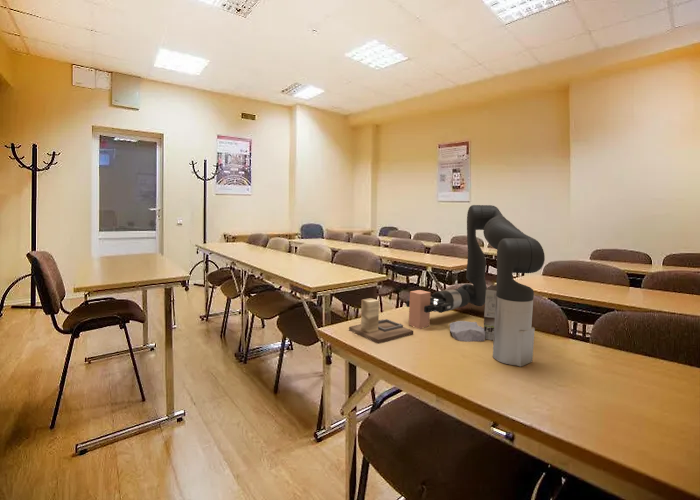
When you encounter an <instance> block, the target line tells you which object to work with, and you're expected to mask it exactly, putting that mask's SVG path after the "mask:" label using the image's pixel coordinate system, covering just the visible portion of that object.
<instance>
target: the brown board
mask: <svg viewBox="0 0 700 500" xmlns="http://www.w3.org/2000/svg"><path fill="white" fill-rule="evenodd" d="M380 320H384V319H379V320H378V321H380ZM378 326H379V327H382V328H384V329H386V328H390V327H394V326H396V325H393V324H390V323H388V322H384V323H380V324H378ZM348 331H350V332H352V333H354V334H356V335H359V336H360V337H363V338H365V339H367V340H369V341H372V342H374V343H376V344H377V345H378V344H382V343H385V342H389V341H394V340H398V339H401V338H405V337H408V336H413V335H414V330H413V329H410V328H407V327H405V326H403V328H399V329H395V330H390V331H386V332H384V331H381V330H379V329H378V331H375V332H371V333H368V332H365V331H363V330H361V323H360V324H356V325H351V326H348Z"/></svg>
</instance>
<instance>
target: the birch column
mask: <svg viewBox="0 0 700 500" xmlns="http://www.w3.org/2000/svg"><path fill="white" fill-rule="evenodd" d="M360 301H361V306H360V308H361V309H360V310H361V313H360V317H361V319H360V324H361V330H363V331H365V332H368V333H371V332H375V331H378V320H380V319H379V317H380V314H379V313H380V311H379V309H380V304H379V303H380V300H378V299H375V298H372V297H370V298H364V299H361V300H360Z"/></svg>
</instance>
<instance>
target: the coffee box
mask: <svg viewBox="0 0 700 500" xmlns="http://www.w3.org/2000/svg"><path fill="white" fill-rule="evenodd" d="M496 292H497V287H496V285H494V284H491V285H490V286H488V287H487V289H486V296H485V304H484V315H483V328H484V330H485V340H490V341H494V324H495V307H496Z"/></svg>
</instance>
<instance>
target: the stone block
mask: <svg viewBox="0 0 700 500" xmlns="http://www.w3.org/2000/svg"><path fill="white" fill-rule="evenodd" d="M448 325H449V330H450V333H451V336H452V338H454V339H455V340H456V341H459V342H468V343H469V342H485V340H486V339H485V330H484V326H480V325H479V324H478V322H477V321H467V320H457V321H453V322H450V323H449V324H448Z"/></svg>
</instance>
